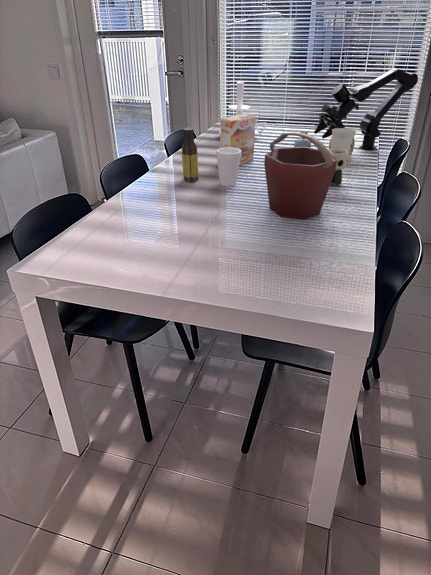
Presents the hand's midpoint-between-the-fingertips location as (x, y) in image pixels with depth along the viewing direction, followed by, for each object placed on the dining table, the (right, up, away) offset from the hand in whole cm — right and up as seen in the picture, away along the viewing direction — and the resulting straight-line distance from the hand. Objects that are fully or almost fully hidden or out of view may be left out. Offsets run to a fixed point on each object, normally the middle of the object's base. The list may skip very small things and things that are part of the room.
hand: (318, 135), depth 208 cm
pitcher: (+8, -14, -8) cm, 18 cm away
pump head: (-7, -2, -1) cm, 8 cm away
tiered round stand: (-7, -7, +3) cm, 11 cm away
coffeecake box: (-40, -17, -13) cm, 45 cm away
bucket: (-22, -46, -58) cm, 78 cm away
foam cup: (-45, -32, -37) cm, 67 cm away
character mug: (-3, -32, -36) cm, 49 cm away
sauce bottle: (-60, -30, -34) cm, 75 cm away
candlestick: (-35, +7, +24) cm, 43 cm away
